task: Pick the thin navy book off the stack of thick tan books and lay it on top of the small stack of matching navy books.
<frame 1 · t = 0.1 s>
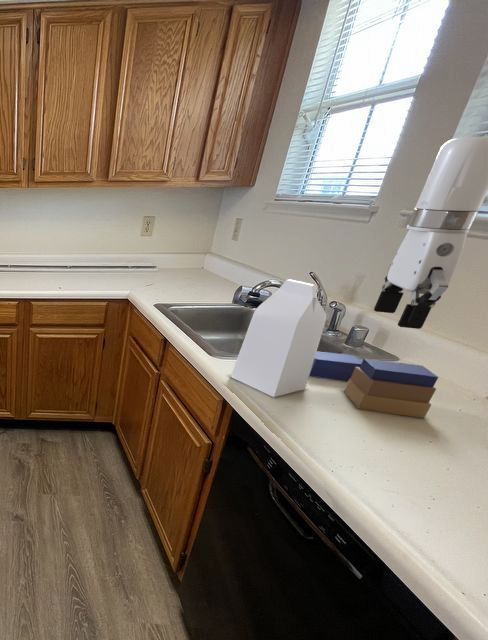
hand: (395, 319, 77), 24 cm above the countertop, tool pointing down, fingers open, 9 cm apart
navy book: (394, 377, 95), point 7 cm above the countertop, touching tan books
navy books: (329, 374, 112), on the countertop
milk: (266, 383, 107), on the countertop
tan books: (381, 403, 98), on the countertop
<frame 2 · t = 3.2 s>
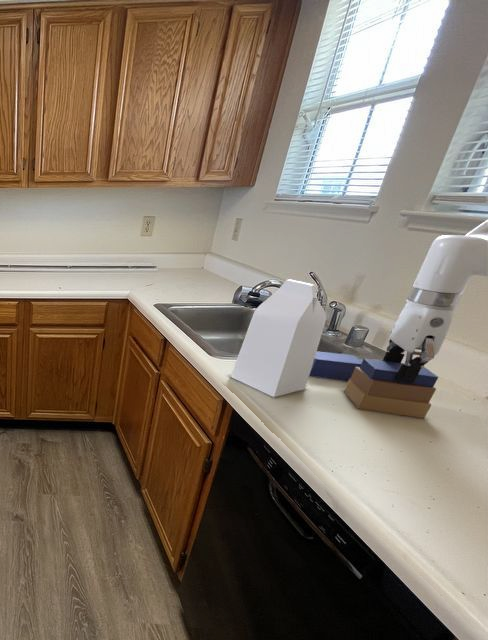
hand: (395, 374, 94), 8 cm above the countertop, tool pointing down, fingers closed on navy book, 6 cm apart
navy book: (394, 377, 95), point 7 cm above the countertop, touching gripper, tan books
everything else where it was.
when the fingers open (6 cm above the countertop, at t = 10.2 s): navy book stays where it is, resting on navy books.
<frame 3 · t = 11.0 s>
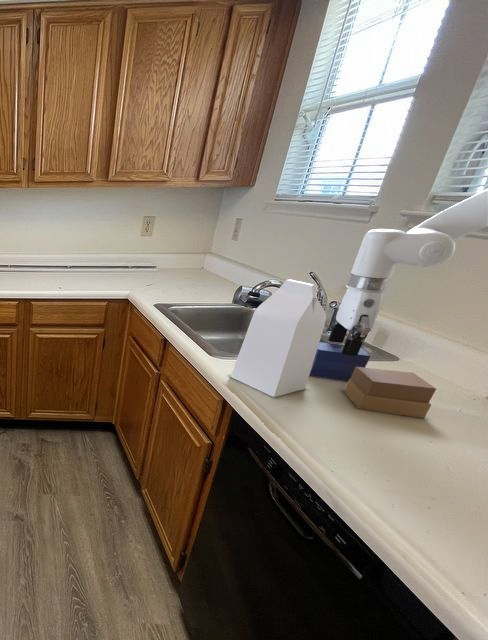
hand: (341, 348, 109), 8 cm above the countertop, tool pointing down, fingers open, 9 cm apart
navy book: (336, 357, 110), point 5 cm above the countertop, touching navy books
everything else where it was.
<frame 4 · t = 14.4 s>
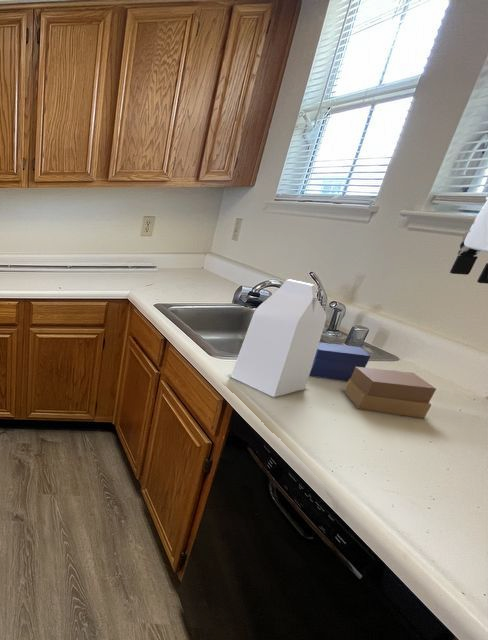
hand: (472, 278, 91), 28 cm above the countertop, tool pointing down, fingers open, 9 cm apart
nothing on the countertop moved.
at the end: navy book 0.1 cm off-centre on the navy books, point 5.0 cm above the navy books's base; navy book tilted 0°; the gripper is holding nothing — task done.
